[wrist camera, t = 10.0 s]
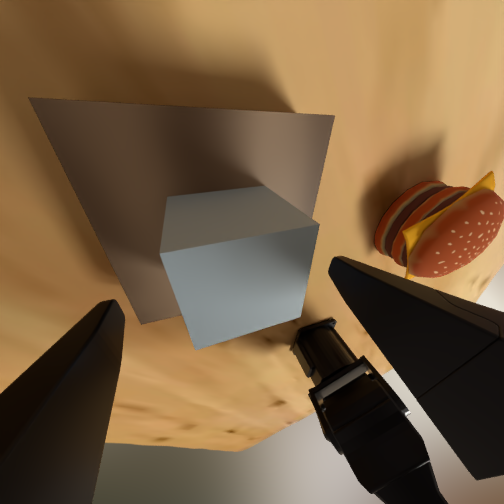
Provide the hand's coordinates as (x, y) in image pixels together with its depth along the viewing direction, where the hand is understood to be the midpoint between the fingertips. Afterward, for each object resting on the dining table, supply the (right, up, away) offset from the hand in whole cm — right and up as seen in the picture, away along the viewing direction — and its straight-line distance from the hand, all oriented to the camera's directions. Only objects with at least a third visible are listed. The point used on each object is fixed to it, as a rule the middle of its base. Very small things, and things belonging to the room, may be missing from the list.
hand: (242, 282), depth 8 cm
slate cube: (-1, +2, +3) cm, 4 cm away
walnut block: (-3, +4, +6) cm, 8 cm away
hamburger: (+18, +5, +14) cm, 24 cm away
